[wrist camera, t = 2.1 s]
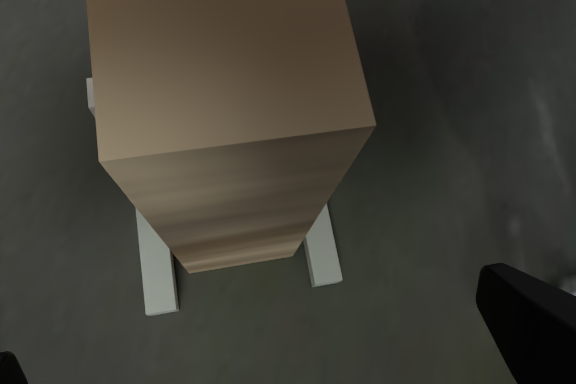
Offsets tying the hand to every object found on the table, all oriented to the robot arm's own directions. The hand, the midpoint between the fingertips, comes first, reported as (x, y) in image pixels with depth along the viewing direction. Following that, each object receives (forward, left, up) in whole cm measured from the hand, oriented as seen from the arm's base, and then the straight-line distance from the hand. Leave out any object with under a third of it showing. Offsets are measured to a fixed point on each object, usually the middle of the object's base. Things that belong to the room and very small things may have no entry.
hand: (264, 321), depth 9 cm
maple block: (+4, -3, -12) cm, 13 cm away
